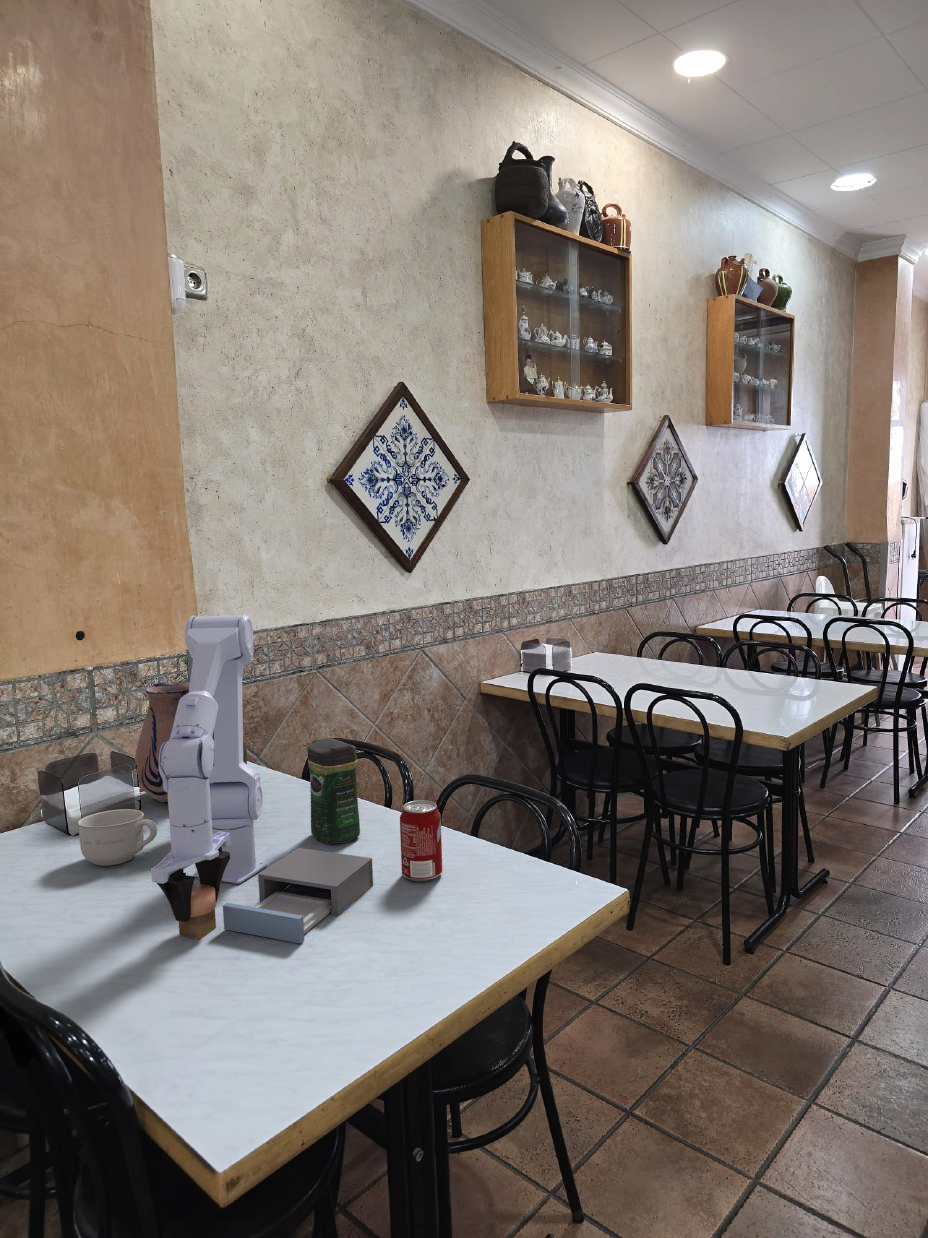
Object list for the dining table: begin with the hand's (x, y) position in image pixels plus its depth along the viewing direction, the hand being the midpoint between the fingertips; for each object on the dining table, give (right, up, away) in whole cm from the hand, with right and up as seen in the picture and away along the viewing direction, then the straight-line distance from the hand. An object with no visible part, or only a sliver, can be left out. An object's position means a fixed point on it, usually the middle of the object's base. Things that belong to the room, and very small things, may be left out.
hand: (196, 911), depth 119 cm
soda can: (+32, -1, +18) cm, 36 cm away
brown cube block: (0, -3, 0) cm, 3 cm away
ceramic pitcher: (-23, +3, +62) cm, 66 cm away
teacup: (-22, -1, +28) cm, 36 cm away
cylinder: (0, 0, 0) cm, 0 cm away
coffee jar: (+15, +1, +36) cm, 39 cm away
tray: (+12, -2, +3) cm, 13 cm away
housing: (+15, -2, +11) cm, 19 cm away
